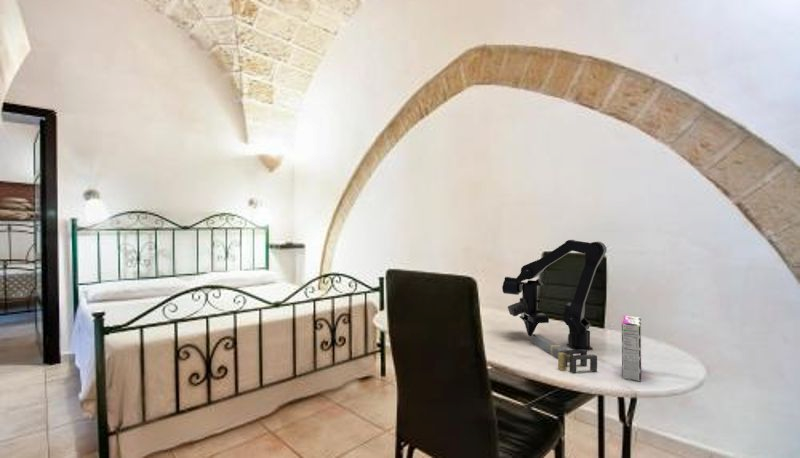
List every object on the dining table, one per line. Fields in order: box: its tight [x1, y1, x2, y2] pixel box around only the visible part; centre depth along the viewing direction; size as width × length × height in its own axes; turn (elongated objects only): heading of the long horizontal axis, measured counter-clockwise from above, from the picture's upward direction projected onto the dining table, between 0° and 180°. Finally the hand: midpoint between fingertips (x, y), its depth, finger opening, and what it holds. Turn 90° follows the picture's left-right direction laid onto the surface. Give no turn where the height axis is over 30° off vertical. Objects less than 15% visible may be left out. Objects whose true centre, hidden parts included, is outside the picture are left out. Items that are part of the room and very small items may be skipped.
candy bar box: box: [621, 315, 642, 382], centre depth 117 cm, size 11×5×16 cm, turn 148°
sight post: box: [557, 352, 571, 371], centre depth 121 cm, size 4×2×5 cm, turn 98°
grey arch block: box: [561, 349, 588, 368], centre depth 124 cm, size 8×2×5 cm, turn 98°
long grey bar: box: [530, 333, 574, 364], centre depth 138 cm, size 22×3×3 cm, turn 8°
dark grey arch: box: [569, 353, 598, 374], centre depth 119 cm, size 8×2×5 cm, turn 98°
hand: (529, 335), depth 153 cm, fingers closed
